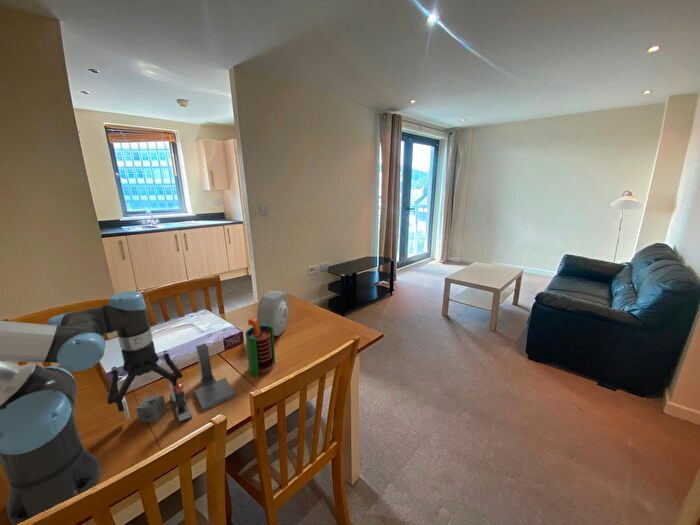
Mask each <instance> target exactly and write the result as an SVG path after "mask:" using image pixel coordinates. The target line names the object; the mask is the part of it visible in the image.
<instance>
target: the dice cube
mask: <svg viewBox="0 0 700 525" xmlns="http://www.w3.org/2000/svg"><path fill="white" fill-rule="evenodd" d="M135 408H136V413H137V418H138V421H139V423H157V422H158V420H159V419H160V418H161V416H162V415H164V413H165V412H166V410H167V406H166V401H165V397H164V395H147V396H146V397H145V398H144V399H142V401H141V403H139V404H138V406H137V407H135Z"/></svg>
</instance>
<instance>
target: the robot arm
mask: <svg viewBox="0 0 700 525" xmlns="http://www.w3.org/2000/svg"><path fill="white" fill-rule="evenodd" d="M114 332H116V334H117V339H118V343H119V347H120V349H121V351H120V352H121V354H122V360H123V365H122V366H119V367H117V366H113V367H112V368H111V369H110V370H111V376H112V378H111V381H110V385H109V390H108V393H107V404H108V405H111V404H113V403H116V405H117V410H118V411H119V413H120V412H121V413H122V412H124V415H125V419H126V422H129V421H130V420H131V417H130V411H129V408H128V404H127V400H126V397H125V396H126V393H127V391H128V390H129V388H130V386H131V385H132V383H133V381H134V380H135V379H136V377H140V376H142V375H145V374H149V373H151V372H152V371H153V372H154V373H156V374H158V375H160V376H161V377H163V378H164V379H166V380H168V381H167V382H168V386H169V391H170V394H171V397H172V400H173V402H175V401H176V399H175V394H174V392H173V387H174V386H175V385H176V384H178V380H179V379H181V378H183V374H182V371H181V370H180V369H179V367H178V366H177V365H176V364H175V363H174V361H173V360H172V359H171V358H170V354H169V352H168V350H164V351H162V352H163V353H159V354H158V353H156V348H155V343H154V341H153V334H152V329H151V325H150V321H149V314H148V309H147V305H146V301H145V299H144V295H143V293H141V292H140V291H137V290H127V291H121V292H119V293H115V294H113V295H111V296H110V297H109V299H108V303H107V304H105V305H104V304H103V305H100V306H96V307H91V308H85V309H81V310H76V311H71V312H66V313H62V314H59V315H55V316H52V317H50V318H49V319H48V321H47V324H44V323H32V322H30V323H29V322H21V321H20V322H18V321H11V320H10V321H8V320H0V464H1V468H2V470H3V472H4V474H5V476H6V479H7V481H8V483H9V493H8V500H7V505H6V514H7V517H8V521H9V522H10V524H11V525H17V524H18V523H20V522H23V521H25V520H27V519H29V518H31V517H33V516H35V515H37V514H39V513H41V512H44V511H45V510H48V509H50V508H52V507H54V506H55V505H57V504H59V503H62V502H64V501H66V500H68V499H70V498H72V497H74V496H76V495H78V494H80V493H82V492H84V491H86V490H88V489H90V488H92V487H93V486H95V485H96V486H97V483H98V482H99V480H100V478H101V474H102V473H101V472H102V469H101V465H100V461H99V460H98V459H97V457H96V456H94V454H92V453H91V452H90V451H89V450H88V449H87V448H85V447H84V446H83V442H82V439H81V435H80V433H79V429H78V427H77V421H76V404H77V403H76V402H77V392H78V390H77V388H78V387H77V381H76V380H75V378H74V376H73V374H72V373H71V372H82V371H85V370H89V369H91V368H93V367H94V366H96V365H97V364H99V362H100V361H102V359H103V357H104V355H105V349H106V341H105V338H104V335H107V334H112V333H114ZM159 360H161V361H163V362H164V361H165V363H166V365H167V366H168V367H169V368H170V369H171V371H172V372H173V373H174V374H173V373H172V372H170V371H169V370H167V369H165V368H164V367H162V366H161V365H159V364H158V361H159ZM14 362H15V363H14ZM17 362H22V363H26V364H22V365H18V364H16V363H17ZM29 362H30V363H29ZM36 363H53V364H56V363H57V364H58V365H60V366H55V365H54V366H52V365H50V366H48V365H47V366H44V367H43V366H41V365H37V364H36ZM124 371H125V372H126V373H127V374H126V377H125V379H124V381H123V383H122V384H121V386H120V388H119V390H118V392H117V394H116V391H117V386H118V382H119V376H121V375H122V373H123V372H124Z"/></svg>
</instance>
